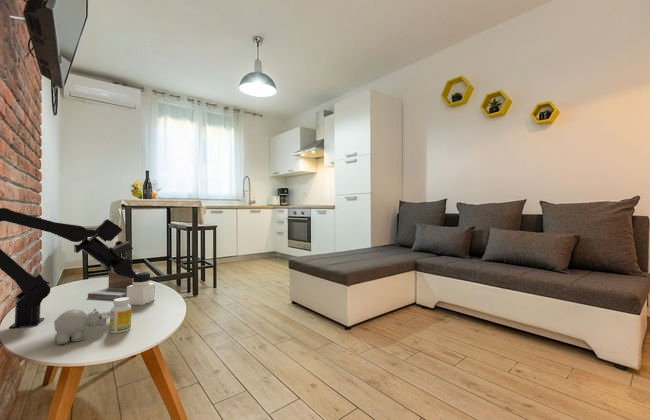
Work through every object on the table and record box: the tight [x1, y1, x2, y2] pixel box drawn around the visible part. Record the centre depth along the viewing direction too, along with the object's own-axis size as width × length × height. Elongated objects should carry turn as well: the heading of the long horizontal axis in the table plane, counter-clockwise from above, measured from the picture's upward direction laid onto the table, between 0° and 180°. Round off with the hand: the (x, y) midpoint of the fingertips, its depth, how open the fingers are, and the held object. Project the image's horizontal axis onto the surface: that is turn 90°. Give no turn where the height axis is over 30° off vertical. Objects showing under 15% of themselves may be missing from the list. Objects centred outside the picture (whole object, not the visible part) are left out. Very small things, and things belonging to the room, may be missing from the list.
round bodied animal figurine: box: [53, 308, 109, 345], centre depth 85 cm, size 7×12×8 cm, turn 136°
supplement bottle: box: [109, 297, 132, 334], centre depth 91 cm, size 5×5×10 cm
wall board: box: [87, 269, 143, 301], centre depth 127 cm, size 12×15×10 cm
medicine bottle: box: [127, 271, 156, 306], centre depth 119 cm, size 7×7×12 cm
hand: (132, 276), depth 116 cm, fingers open, 9 cm apart
